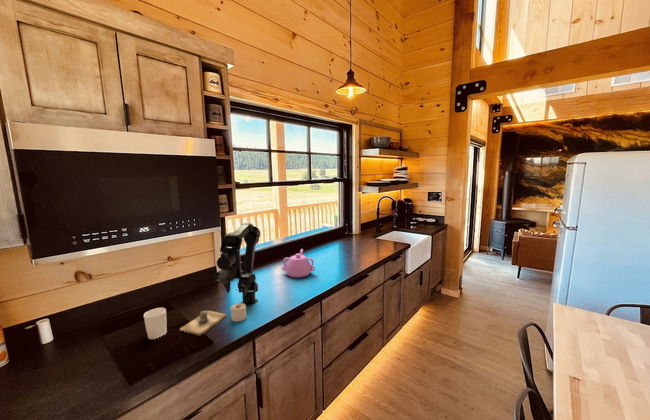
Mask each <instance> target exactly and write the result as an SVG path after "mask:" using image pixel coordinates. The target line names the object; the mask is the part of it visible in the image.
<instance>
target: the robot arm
mask: <svg viewBox="0 0 650 420" xmlns="http://www.w3.org/2000/svg"><path fill="white" fill-rule="evenodd" d="M260 238H261V230H260V229H259V228H258V227H257V226H255V225H254V224H253V223H250V222H248V223H247V222H246V223H245V222H244V223H241V225H240V226H239V227H238V228H237V229H236V230H235V231H233V232H229V233H226V234H224V235H223V238H222V240H221V243H220V244H221V245H220V249H219V252H220V257H218V258H217V261H216V267H218V268H219V271H217V272H215V274H214V277H215V278H214V279H215V280H217V281H218V282H219V283H220V284H222V285H223V287H224V289H225V291H226V293H227V294H228V293H230V291H231V282H233V281H234V280H235V279H236V280H238V282H237V290H238V293H239V294H240V293H242V296H241V297H242V298H241V299H242V301H241V302H240V303H243V304H245V305H246V306H250V307H251V306H253V305H254V304H255V303H257V302H258V301H259V299H258V298H256V293H257V292H258V291H259V284H258V283H257V282H256V280H257V279H256V274H255V273H253V272H254V262H255V252H256V246H257V244H258V243H259V241H260ZM243 240H244V243H245V255H244V263H243V261H241V247H242V243H243ZM242 265H243V270H242Z"/></svg>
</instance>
